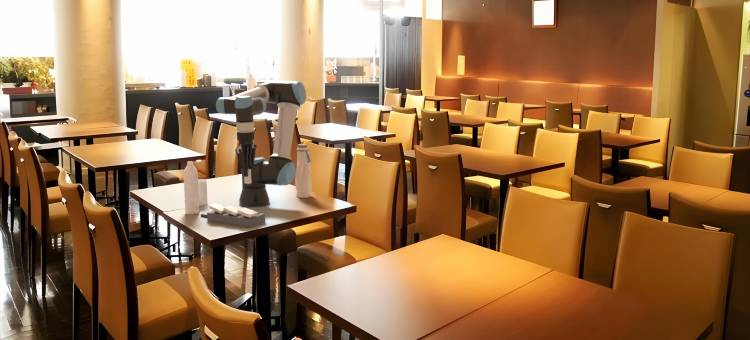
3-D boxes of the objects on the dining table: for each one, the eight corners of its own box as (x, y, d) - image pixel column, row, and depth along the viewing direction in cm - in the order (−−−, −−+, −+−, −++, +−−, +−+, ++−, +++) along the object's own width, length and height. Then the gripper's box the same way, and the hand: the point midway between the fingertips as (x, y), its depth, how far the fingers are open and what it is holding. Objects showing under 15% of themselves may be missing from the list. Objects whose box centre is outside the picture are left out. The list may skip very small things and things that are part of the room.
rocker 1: (216, 205, 281) (217, 203, 281) (228, 211, 279) (228, 208, 278) (209, 208, 277) (209, 205, 276) (221, 213, 274) (221, 211, 274)
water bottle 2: (317, 196, 328) (316, 144, 323) (306, 199, 321) (305, 146, 316) (302, 193, 334) (301, 142, 328) (291, 196, 326) (290, 144, 321)
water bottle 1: (188, 215, 287) (185, 163, 283) (183, 212, 292) (180, 161, 288) (206, 212, 293) (203, 161, 288) (200, 209, 298) (198, 159, 293)
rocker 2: (230, 207, 278) (230, 205, 277) (242, 213, 275) (243, 210, 275) (223, 210, 273) (223, 207, 273) (235, 216, 271) (235, 213, 270)
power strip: (209, 213, 291) (208, 203, 290) (265, 222, 277) (264, 211, 276) (192, 219, 281) (192, 208, 280) (250, 228, 267) (249, 217, 266)
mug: (181, 206, 304) (180, 182, 302) (198, 201, 315) (197, 178, 312) (194, 208, 301) (193, 184, 298) (210, 203, 311) (209, 180, 309)
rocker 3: (244, 210, 274) (244, 207, 274) (257, 215, 272) (257, 212, 271) (237, 212, 270) (237, 209, 269) (250, 217, 267) (250, 214, 267)
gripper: (247, 128, 277) (249, 179, 282) (229, 133, 265) (232, 185, 271) (260, 129, 274) (263, 180, 279) (243, 134, 262) (246, 187, 268)
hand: (247, 183), depth 275 cm, fingers closed
